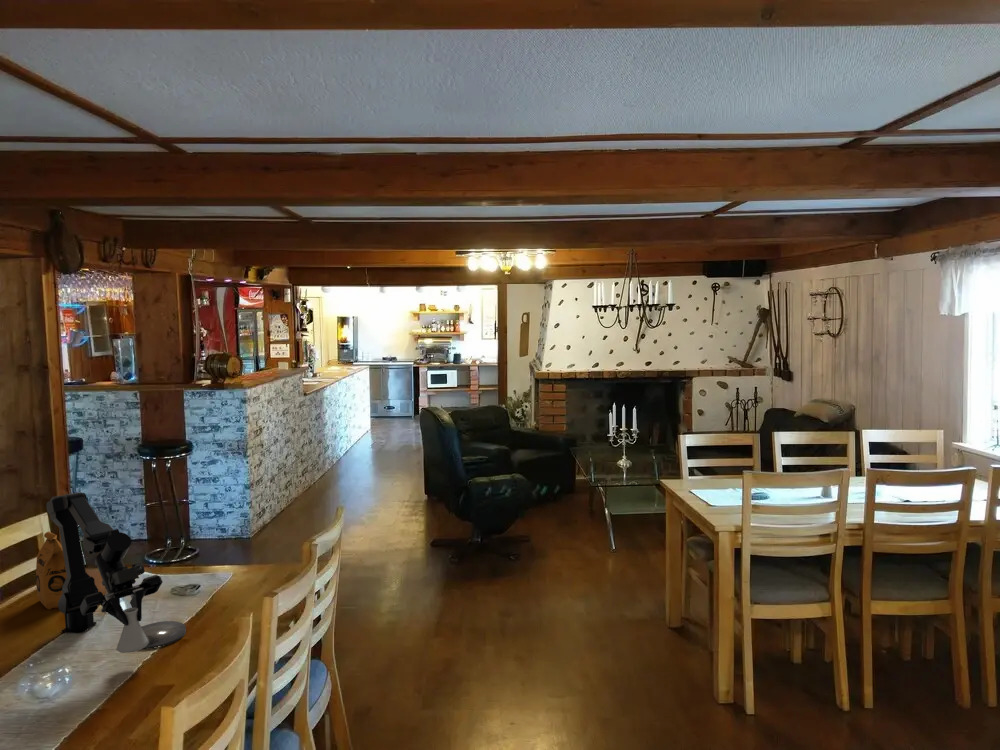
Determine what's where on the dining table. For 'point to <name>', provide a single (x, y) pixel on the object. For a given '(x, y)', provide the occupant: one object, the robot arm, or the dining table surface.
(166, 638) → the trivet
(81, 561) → the robot arm
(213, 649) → the dining table surface
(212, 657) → the dining table surface
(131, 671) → the dining table surface
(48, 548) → the coffee package
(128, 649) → the flask
